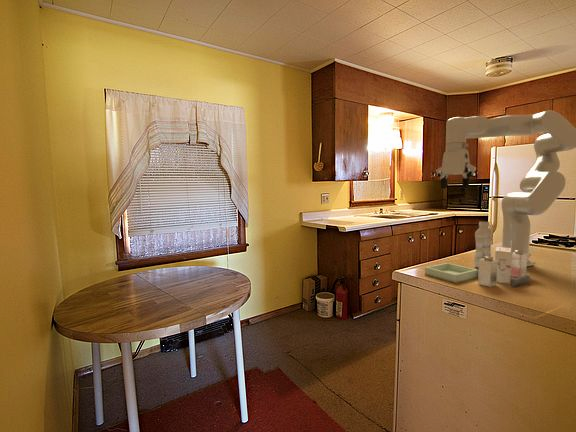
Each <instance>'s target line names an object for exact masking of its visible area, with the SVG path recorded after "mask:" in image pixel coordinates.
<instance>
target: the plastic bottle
mask: <svg viewBox="0 0 576 432" xmlns="http://www.w3.org/2000/svg"><path fill="white" fill-rule="evenodd" d="M493 236H494V234H493V232H492V230H491V229H490V221H483V220H482V221H479V223H478V228H477V230H475V232H474V238H475V253H474V258H473V264H474V267H475V268H477V269H479V259H483V258H484V256H490V257H492V256H491V255H492V254H491V253H492V252H491V251H492V250H491V247H492V241H493Z"/></svg>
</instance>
